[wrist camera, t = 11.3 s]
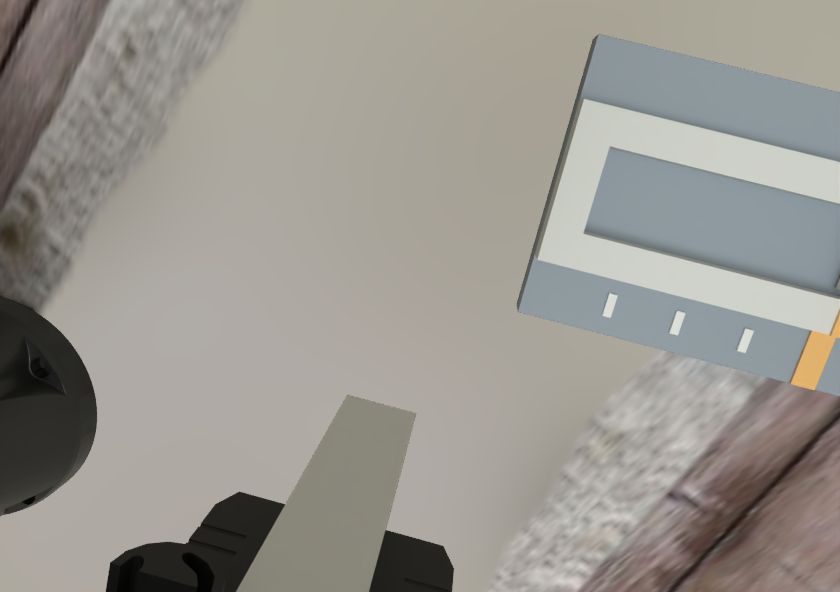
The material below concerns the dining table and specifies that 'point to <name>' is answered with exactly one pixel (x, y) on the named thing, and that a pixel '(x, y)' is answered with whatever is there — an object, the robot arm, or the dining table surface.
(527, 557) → the dining table surface
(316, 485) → the robot arm
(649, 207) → the console
